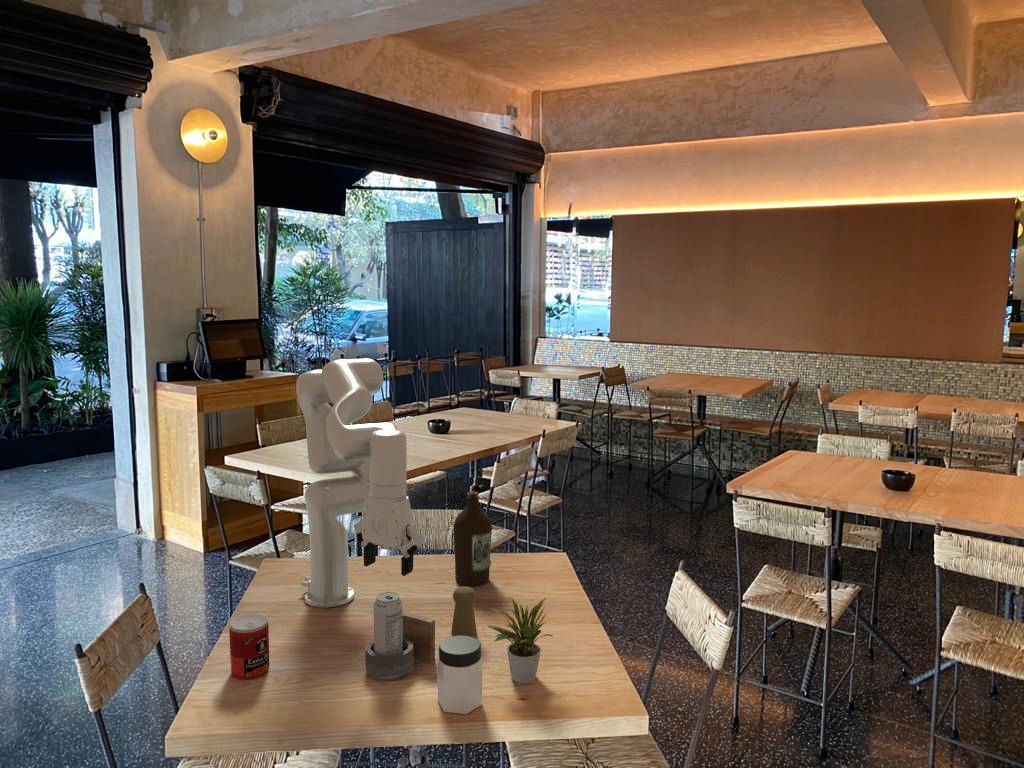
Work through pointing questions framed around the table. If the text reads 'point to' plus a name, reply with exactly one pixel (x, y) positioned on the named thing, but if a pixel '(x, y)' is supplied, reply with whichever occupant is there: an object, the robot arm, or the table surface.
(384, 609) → the energy drink can
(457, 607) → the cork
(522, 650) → the house plant
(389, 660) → the cup bracket
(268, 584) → the table surface
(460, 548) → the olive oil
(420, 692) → the table surface
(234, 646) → the canned food
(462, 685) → the jar
